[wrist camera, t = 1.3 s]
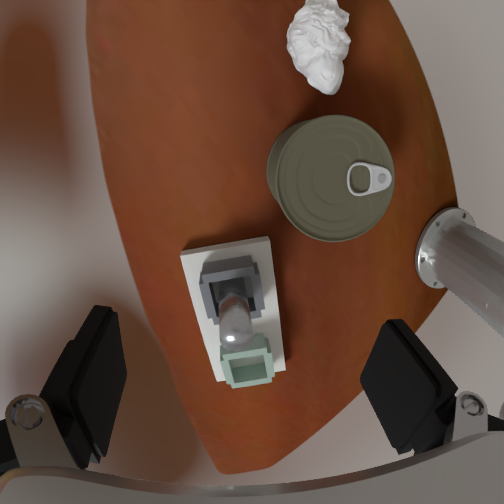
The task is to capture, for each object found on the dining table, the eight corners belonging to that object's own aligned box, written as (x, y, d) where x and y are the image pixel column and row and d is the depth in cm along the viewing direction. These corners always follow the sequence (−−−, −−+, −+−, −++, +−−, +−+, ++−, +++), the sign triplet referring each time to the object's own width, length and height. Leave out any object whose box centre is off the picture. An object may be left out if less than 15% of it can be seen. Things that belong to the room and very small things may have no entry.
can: (260, 119, 29) (270, 115, 23) (363, 119, 30) (394, 118, 24) (267, 226, 34) (279, 248, 28) (364, 217, 35) (392, 236, 28)
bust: (303, 11, 26) (253, -28, 17) (365, 8, 23) (334, -42, 14) (304, 100, 31) (252, 84, 22) (369, 102, 27) (341, 81, 18)
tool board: (283, 363, 42) (289, 384, 38) (216, 374, 42) (217, 396, 38) (267, 235, 34) (274, 250, 30) (181, 250, 34) (176, 267, 30)
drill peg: (250, 283, 35) (261, 337, 25) (231, 299, 35) (236, 356, 26) (231, 267, 34) (236, 318, 24) (213, 284, 34) (212, 338, 25)
